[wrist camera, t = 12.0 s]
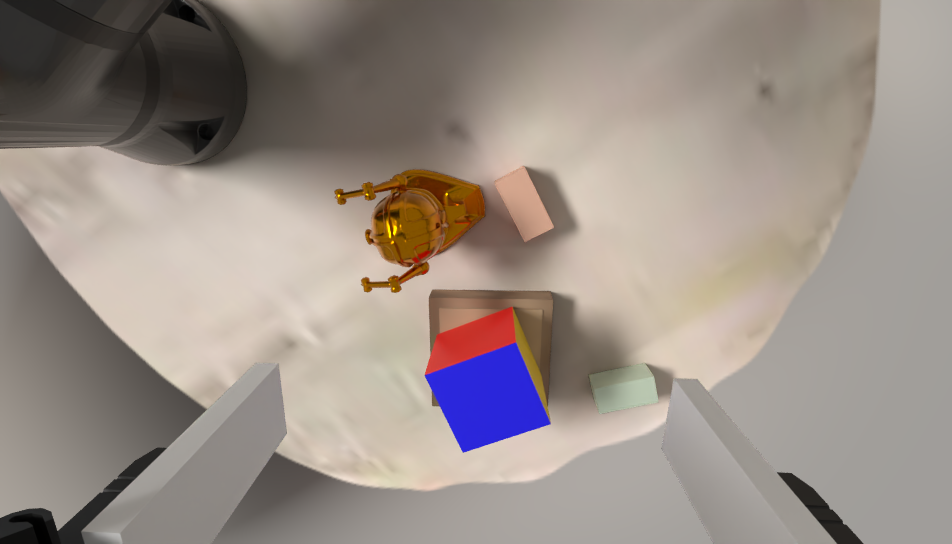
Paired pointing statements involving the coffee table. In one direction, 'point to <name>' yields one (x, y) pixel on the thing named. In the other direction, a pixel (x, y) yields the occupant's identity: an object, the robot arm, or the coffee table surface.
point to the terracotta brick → (524, 204)
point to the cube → (487, 381)
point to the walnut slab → (475, 304)
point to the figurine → (417, 219)
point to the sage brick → (623, 388)
